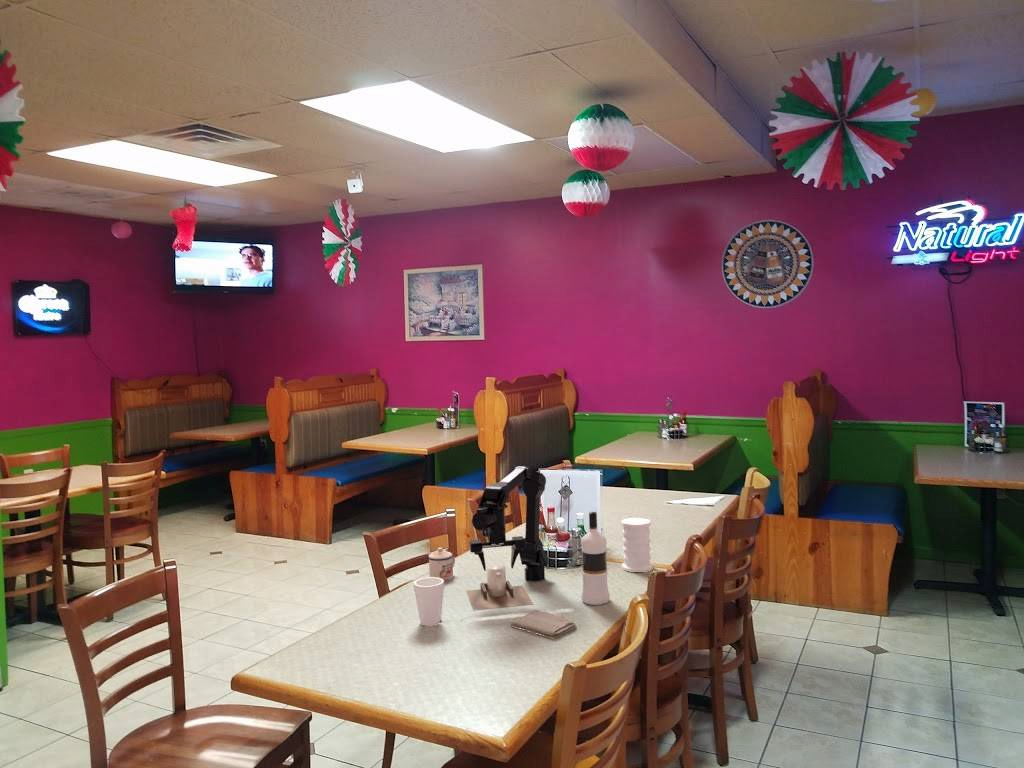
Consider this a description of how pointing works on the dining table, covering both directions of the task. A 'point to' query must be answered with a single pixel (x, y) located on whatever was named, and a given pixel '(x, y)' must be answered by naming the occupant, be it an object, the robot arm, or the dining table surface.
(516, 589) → the dock
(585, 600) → the vodka
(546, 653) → the dining table surface
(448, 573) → the teacup with lid
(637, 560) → the decorative container
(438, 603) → the foam cup
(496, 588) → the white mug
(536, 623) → the washcloth
